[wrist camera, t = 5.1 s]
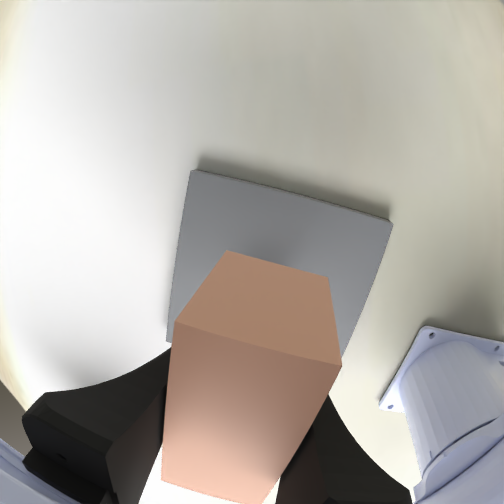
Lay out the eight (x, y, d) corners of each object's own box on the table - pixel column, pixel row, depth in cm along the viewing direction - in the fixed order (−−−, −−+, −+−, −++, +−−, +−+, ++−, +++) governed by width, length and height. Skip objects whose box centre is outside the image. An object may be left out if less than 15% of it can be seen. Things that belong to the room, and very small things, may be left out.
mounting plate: (389, 220, 18) (393, 224, 17) (327, 376, 22) (328, 384, 21) (196, 169, 19) (190, 170, 18) (170, 334, 23) (165, 341, 22)
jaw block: (327, 277, 12) (342, 365, 7) (273, 416, 15) (259, 507, 10) (226, 250, 12) (174, 321, 7) (197, 395, 15) (161, 480, 10)
